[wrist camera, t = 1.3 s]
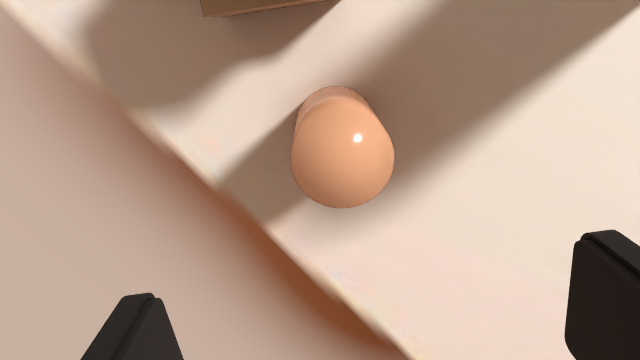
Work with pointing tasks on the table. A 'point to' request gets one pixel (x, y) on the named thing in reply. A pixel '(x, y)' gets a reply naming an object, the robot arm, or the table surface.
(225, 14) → the walnut base block
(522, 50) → the table surface
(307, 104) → the terracotta capsule
